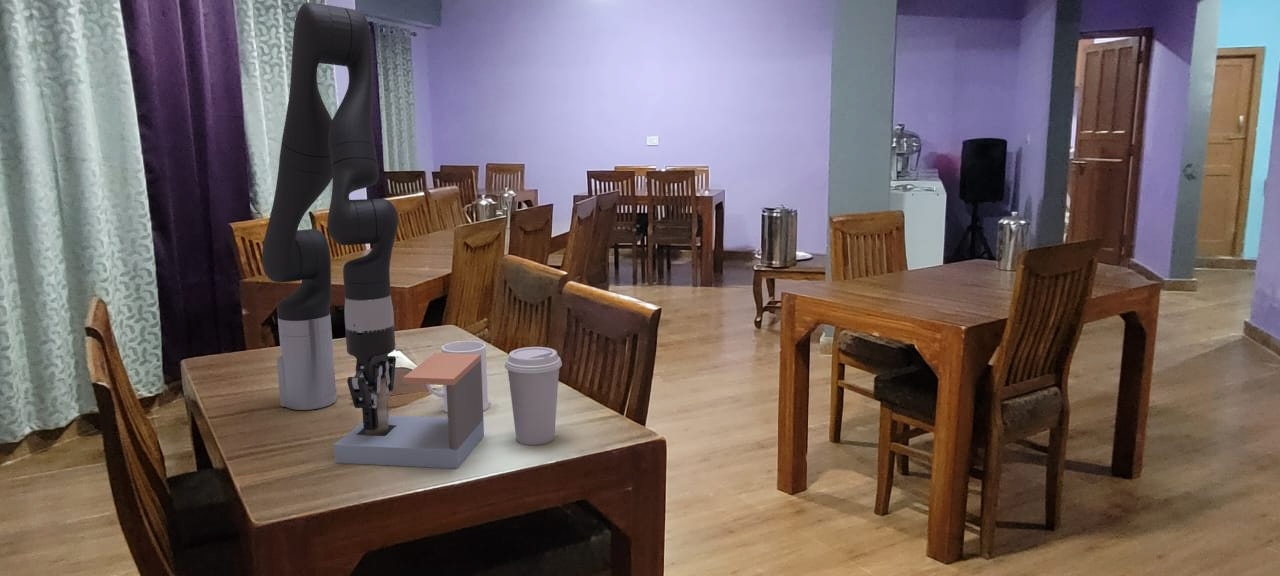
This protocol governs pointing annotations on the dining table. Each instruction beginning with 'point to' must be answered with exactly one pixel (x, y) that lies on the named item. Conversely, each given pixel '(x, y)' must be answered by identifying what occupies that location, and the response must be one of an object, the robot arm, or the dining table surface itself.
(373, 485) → the dining table surface
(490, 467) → the dining table surface
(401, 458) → the socket board
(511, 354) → the coffee cup
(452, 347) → the mug
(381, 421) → the peg
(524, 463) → the dining table surface
